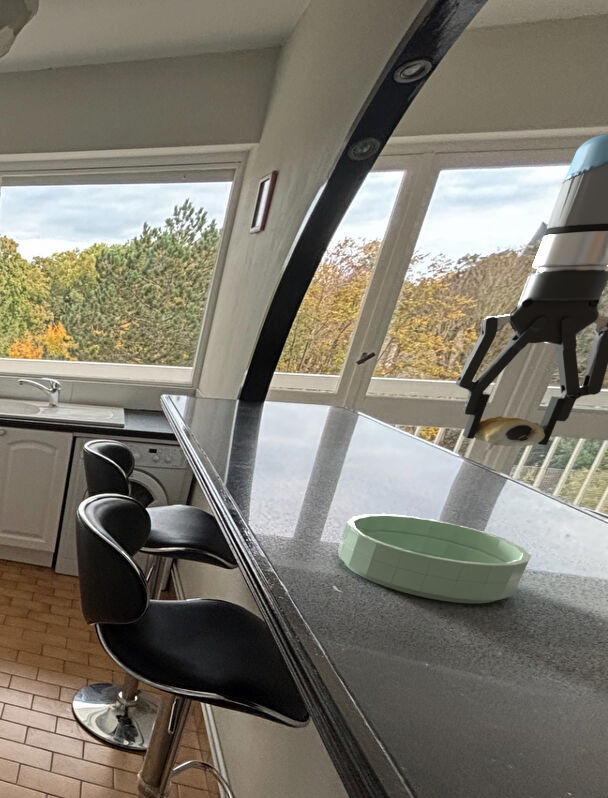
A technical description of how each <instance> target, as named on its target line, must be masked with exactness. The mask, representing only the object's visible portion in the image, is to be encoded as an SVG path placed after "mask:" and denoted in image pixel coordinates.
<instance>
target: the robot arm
mask: <svg viewBox="0 0 608 798" xmlns="http://www.w3.org/2000/svg"><path fill="white" fill-rule="evenodd" d="M545 229H546V230H545V232H544V235H543V237H542V240H541V242H540V245H539V248H538V251H537V253H536V255H535V259H534V261H533V263H532V268H533V269H536V272H532V273H531V274H530V275H528V277H527V279H526V282H525V284H524V287H523V290H522V292H521V295H520V298H519V301H518V303H517V305H516V307H515V308H514V309H512V311H510V312H509V314H504V315H497V316H485V317H483V318H482V319H481V324H480V325H481V326H480V334H479V336H478V338H477V340H476V342H475V344H474V346H473V348H472V350H471V352H470V353H469V356H468V358H467V360H466V361H465V363H464V365H463V368H462V369H461V371H460V373H459V375H458V377H457V379H456V381H455V385H457V387H460V388H463V389H465V390H467V391H468V395H467V398H466V400H465V402H464V406H463V409H462V412H463V414H464V415H468V416H469V417H468V420H467V423H466V425H465V427H464V430H463V433H462V436H463V437H464V438H466V439H471V440H473V439H475V438H474V436H475V434H476V431H477V428H478V426H479V423H480V420H482V418H483V415H484V412H485V410H486V407H487V404H488V402H489V399H490V396H491V394H490V393H488V392H486V390H487V388H489V386H490V385H491V384H492V383H493V382H494V381H495V380H496V378H498V376H499V375H500V374H501V373H502V372H503V371H504V370H505V368H507V366H508V365H509V364H510V363H512V361H513V360H514V358H515V357H516V356H517V355H519V353H520V352H521V351H522V350H523V349H524V348H526V347H527V345H528V344H540V343H545V344H551V345H552V344H553V345H554V349H555V351H556V358H557V368H558V369H557V370H558V379H559V387H560V388H559V389H560V396H557V395H556V396H554V395H552V396H551V398H550V400H549V401H548V404H547V407H546V409H545V411H544V414H543V417H542V419H541V422H540V423H539V425H540V426H541V427H542V428H543V430H544V433H545V437H544V438H543V440H542V441H540V442H539V443H537V444H536V445H541V446H548V443H549V441H550V439H551V436H552V434H553V431H554V428H555V426H556V424H557V422H566V421H567V420H568V419H569V417H570V414H571V412H572V410H573V407H574V405H575V403H576V401H577V400H578V399H580V398H581V397H586V396H590V395H592V396H594V395H598V394H600V392H601V391H602V388H603V384H604V381H605V380H604V379H605V377H606V373H607V369H608V316H605V315H600V312H599V310H598V309H599V308H598V305H599V303H600V302H601V298H602V296H603V294H604V291H605V289H606V287H607V284H608V270H607V267H608V133H605V134H600V135H596V136H594V137H592V138H589V139H588V140H586V141H585V142H584V143H582V144H581V145H580V146H579V147H578V149H576V152H575V154H574V156H573V158H572V161H571V163H570V166H569V168H568V169H567V172H566V174H565V176H564V179H563V181H562V184H561V187H560V189H559V192H558V195H557V198H556V201H555V203H554V206H553V209H552V212H551V215H550V218H549V220H548V223H547V226H546V228H545ZM508 323H509V324H510V326H511V328H512V330H513V332H514V333H515V334H514V335H513V336H512V337H511V338H510V339H509V341H508V342H507V343H506V345H505V347H503V349H502V350H501V351H500V352H499V353H498V355H497V356H495V358H494V359H493V360H492V361H491V362H490V364H489V365H488V366H487V367H486V368H485V369H484V370H483V371H482V373H480V375H479V376H478V377H477V378H476V380H474V378H475V376H476V375H477V372H478V370H479V369H480V367H481V365H482V363H483V361H484V359H485V357H486V356H487V354H488V352H489V350H490V348H491V346H492V344H493V342H494V340H495V338H496V336H497V333H498V332H500V331H502V330H503V329H504V328H505V325H506V324H508ZM592 324H593V328H592V331H593V333H595V334H594V337H593V341H592V344H591V348H590V352H589V356H588V360H587V363H586V368H585V371H584V376H583V378H582V384H581V385H580V379H579V378H580V377H579V368H578V357H577V347H578V343H577V334H579V333H581V332H582V331H583V330H585V329H586V328H588V327H589V326H590V325H592Z"/></svg>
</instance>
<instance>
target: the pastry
mask: <svg viewBox="0 0 608 798" xmlns="http://www.w3.org/2000/svg"><path fill="white" fill-rule="evenodd" d="M544 437H545V433H544V430H543V428H542V427H541V426H540V423H539V422H532V421H529V420H527V419H524V418H520V417H514V416H502V415H501V416H500V415H497V416H494V417H487V418H483V419H481V420H480V423H479V426H478V428H477V431H476V434H475V436H474V439H475V440H477V441H480V442H481V443H483V444H489V445H494V446H505V447H512V446H523V447H530V446H535V445H538V444H537V443H539V442H540V441H542V440H543V438H544Z"/></svg>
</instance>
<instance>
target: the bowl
mask: <svg viewBox="0 0 608 798" xmlns="http://www.w3.org/2000/svg"><path fill="white" fill-rule="evenodd" d="M337 554H338V558H339V559H340V560H341V561H342V562H343V563H344V565H345V566H346V567H347V568H348V569H349V570H351V572H353V573H355V574H356V575H358V576H360V577H362V578H364V579H366V580H367V581H370V582H373V583H374V584H376V585H377V584H378V585H380V586H382V587H385V588H389V589H392V590H394V591H398V592H401V593H405V594H408V595H413V596H417V597H422V598H426V599H431V600H437V601H441V602H449V603H460V604H488V603H493V602H496V601H501V600H503V599H508V598H510V597H513V596H515V595H514V594H515V593H516V591H517V588H518V587H519V584H520V581H521V579H522V577H523V575H524V573H525V570H526V568H527V566H528V563H529V561H530V558H531V556H532V555H531V554H530V553H529V552H528V551H527V550H526V549H525V548H524V547H522V546H520V545H518V544H516V543H514V542H513V541H510V540H508V539H506V538H504V537H500V536H498V535H495V534H493V533H489V532H487V531H483V530H480V529H476V528H472V527H469V526H465V525H461V524H456V523H452V522H447V521H443V520H442V521H441V520H437V519H432V518H424V517H417V516H410V515H402V514H401V515H399V514H389V513H388V514H387V513H378V514H376V513H375V514H373V513H372V514H362V515H357V516H352V517H351V518H350V519H349V520H347V521H346V524H345V527H344V530H343V533H342V536H341V539H340V543H339V545H338V548H337Z"/></svg>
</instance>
